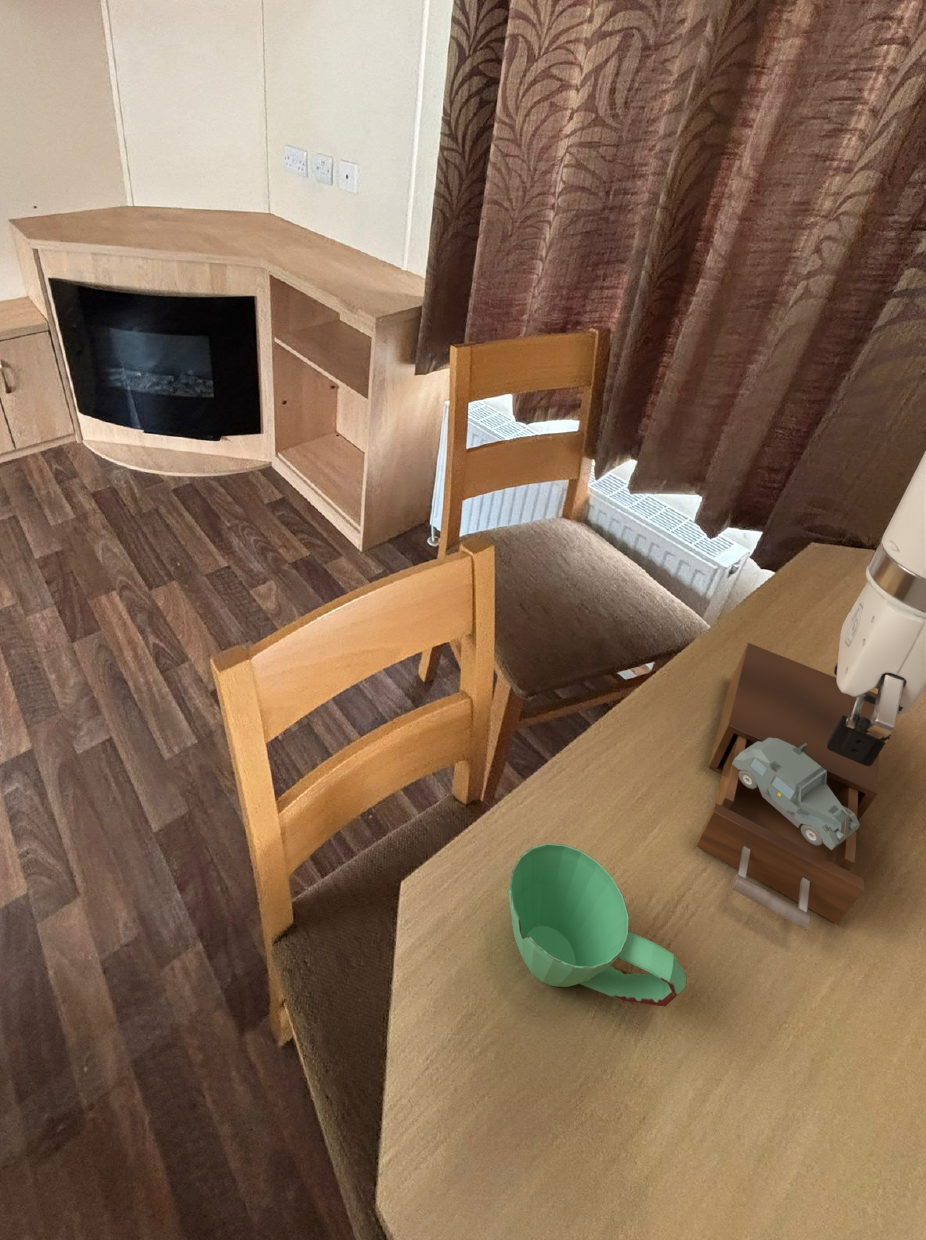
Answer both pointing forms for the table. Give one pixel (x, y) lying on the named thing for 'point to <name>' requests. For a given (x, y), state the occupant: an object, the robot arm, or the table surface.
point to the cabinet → (792, 716)
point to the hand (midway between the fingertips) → (850, 715)
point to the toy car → (796, 790)
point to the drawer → (780, 850)
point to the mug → (584, 929)
